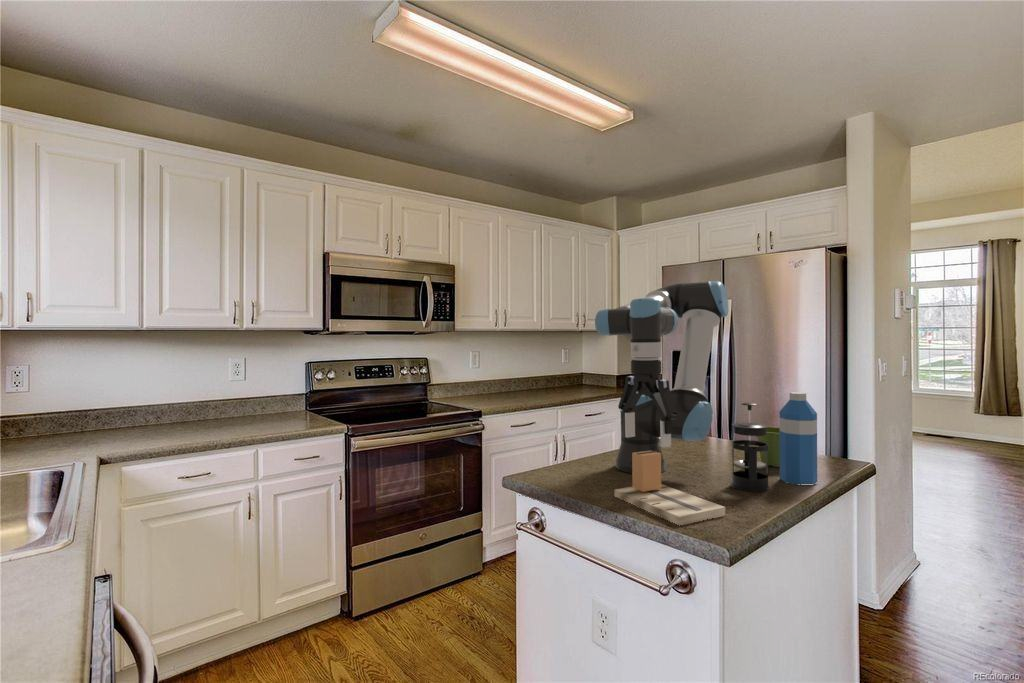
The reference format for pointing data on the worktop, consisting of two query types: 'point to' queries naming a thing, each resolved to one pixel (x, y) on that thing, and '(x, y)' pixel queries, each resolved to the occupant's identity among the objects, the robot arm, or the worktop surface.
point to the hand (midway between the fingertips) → (647, 441)
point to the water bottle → (798, 441)
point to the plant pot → (771, 446)
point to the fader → (646, 470)
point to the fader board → (672, 504)
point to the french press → (750, 457)
